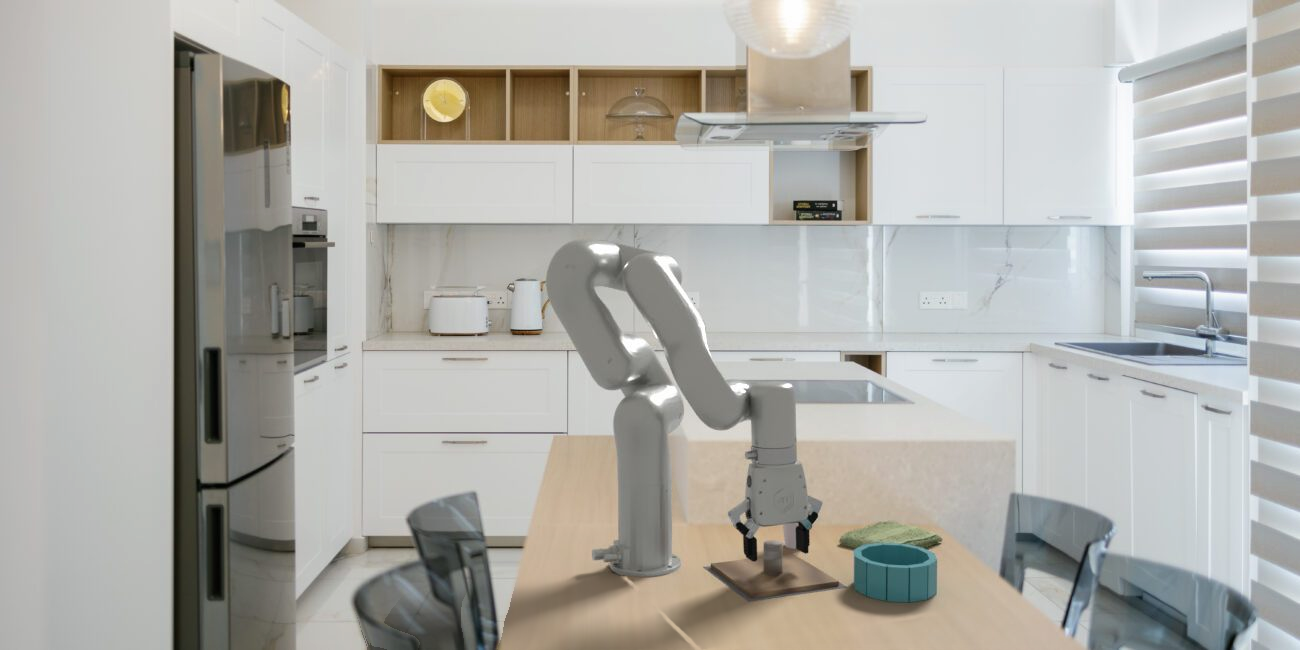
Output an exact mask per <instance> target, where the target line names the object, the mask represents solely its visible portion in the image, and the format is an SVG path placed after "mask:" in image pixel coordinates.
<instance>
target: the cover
mask: <svg viewBox="0 0 1300 650" xmlns="http://www.w3.org/2000/svg"><path fill="white" fill-rule="evenodd" d="M783 547H784V546H783V542H782V541H780V540H773V539H771V540H765V541H763V556H759V557H758V556H757V560H756V561H754V562H753V561H751V560H750V559H748V558H745V559H737V560H729V561H728V560H727V561H721V562H713V563H710V566H711V569H713V570H714V571H715V572H717V573H718V574H719V575H721V576H722V577H723V578H725V579H726V580H727V581H729V582H730V583H731V584H733V585H734V586H735V587H737V588H738V589H739V590H741V591H742V592H743V593H745V594H746V595H747V596H749V597H750V598H751V599H752V598H759V597H766V596H772V595H779V594H786V593H793V592H800V591H807V590H814V589H821V588H828V587H835V586H839V582H840V581H839V580H837V579H836V578H834V577H833V576H831V575H829V574H828V573H826V572H824V571H823V570H821V569H819V568H818V567H816V566H814V565H812V564H811V563H810V562H807V561H806V560H804V559H802V558H801V557H799V556H797V555H795V554H794V553H792V552H791V553H785V554H784V553H783Z"/></svg>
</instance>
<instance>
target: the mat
mask: <svg viewBox="0 0 1300 650" xmlns="http://www.w3.org/2000/svg"><path fill="white" fill-rule="evenodd" d="M703 568H704V570H706V571H708V572H709V573H710V574H711V575H712V576H714V577H716V578H717V579H718V580H719V581H721V582H722V583H723V584H725V585H726V586H727V587H728V588H729V589H731V590H732V591H734V592H735V593H736V594H738V595H739V596H741V598H743V599H744V600H745V601H747V602H749V603H750V602H755V601H763V600H769V599H770V600H772V599H779V598H785V597H791V596H797V595H803V594H812V593H818V592H826V591H831V590H837V589H839V590H840V589H847V588H848V586H846V585H845V584H844V583H842V582H840V581H839V586H835V587H828V588H821V589H814V590H807V591H800V592H793V593H786V594H779V595H772V596H766V597H759V598H752V599H751V598H750V597H749V596H747V595H746V594H745V593H743V592H742V591H741V590H739V589H738V588H737V587H735V586H734V585H733V584H731V583H730V582H729V581H727V580H726V579H725V578H723V577H722V576H721V575H719V574H718V573H717V572H715V571H714V570H713V569H711V565H709V566H703Z"/></svg>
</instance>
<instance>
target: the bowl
mask: <svg viewBox="0 0 1300 650" xmlns="http://www.w3.org/2000/svg"><path fill="white" fill-rule="evenodd" d="M852 576H853V579H852V580H853V588H854V589H853V590H855V591H856V592H858V593H860V594H862V595H863V596H864V597H868V598H872V599H876V600H880V601H883V602H886V601H887V602H896V603H914V602H915V603H916V602H920V601H922V602H923V601H926V600H929V599H931V598H932V597H933V596H935V595H937V593H938V591H937V590H938V557H937V555H936V554H935V553H934V552H933V551H932V550H928V549H926V548H921V547H917V546H912V545H907V544H901V543H874V544H866V545H862V546H860V547H858V548H856V549H854V548H853V575H852Z"/></svg>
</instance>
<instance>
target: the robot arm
mask: <svg viewBox="0 0 1300 650" xmlns="http://www.w3.org/2000/svg"><path fill="white" fill-rule="evenodd" d="M682 281H683V275H682V270H681V267H680V266H679V264H678V262H677V261H676V260H675V259H674V258H673V257H671V256H670V255H668V254H665V253H663V252H656V251H653V250H647V249H643V248H638V247H634V246H630V245H626V244H622V243H619V242H613V241H609V240H601V239H590V238H589V239H587V238H585V239H584V238H583V239H574V240H571V241H569V242H567V243H564V244H563V245H562V246H561V247H559V249H558V250H557V251H556V252H555V253H554V254H553V256H552V258H551V260H550V261H549V264H548V268H547V271H546V279H545V287H546V294H547V298H548V300H549V303H550V305H551V307H552V309H553V312H554V313H555V315H556V316H557V319H558V320H559V321H560V323H561V325H562V327H563V328H564V329H565V332H566V333H567V335H568V337H569V338H570V341H571V343H572V344H573V346H574V348H575V350H576V351H577V353H578V355H579V357H580V358H581V360H582V362H583V364H584V365H585V367H586V369H587V371H588V373H589V374H590V376H591V378H592V379H593V380H594V382H595V383H596V385H598V386H599V387H601V388H602V389H604V390H607V391H619V390H620V391H621V393H622V394H623V396H624V398H622V399H621V400H620V402H619V403H618V404H617V406H616V408H615V411H614V415H613V421H612V424H613V425H612V427H613V435H614V441H615V449H616V463H617V469H616V470H617V506H618V507H617V511H618V512H617V516H618V517H617V521H618V522H617V523H618V527H617V528H618V533H617V534H618V539H617V540H616V539H615V540H613V545H609V546H608V548H603V547H602V548H595V549H594V548H593V549H592V550H591V558H592V560H593V561H601V560H602V561H603V563H609V568H610V569H611V571H612V572H614V573H615V574H618V575H621V576H622V577H623V576H625V577H627V576H630V577H642V578H644V577H646V578H647V577H650V578H651V577H660V576H664V575H668V574H671V573H675V572H676V571H678V570H679V569H681V566H682V560H681V558H680V557H679V556H678V555H676V554H675V553H673V512H672V511H673V504H672V503H673V500H672V499H673V495H672V492H673V491H672V490H673V489H672V488H673V486H672V485H673V484H672V483H673V481H672V457H671V450H670V444H669V434H671V433H672V432H674V431H675V430H676V429H677V428H679V426H680V425H681V423H682V421H683V419H684V416H685V405H684V404H685V403H684V400H683V398H682V396H681V393H682V395H683V396H684V398H685V400H686V401H687V403H688V404H689V406H690V407H691V409H692V410H693V412H694V414H695V415H696V416H697V418H698V419H699V420H700V421H701V422H702V423H703V424H704V425H705V426H707V427H708V428H710V429H711V430H715V431H727V430H730V429H732V428H734V427H736V426H737V425H738V424H740V423H743V422H746V421H750V425H751V426H750V429H751V430H750V432H751V433H750V434H751V446H750V450H749V451H745V452H744V458H745V459H746V460H750V461H751V463H749V465H748V468H747V474H746V480H745V491H744V494H745V495H744V500H743V501H742V502H740V503H739V504H737V505H736V506H735V507H733V508H732V509H730V510H729V511H728V512H727V516H728V519H729V520H730V522H731V523H732V526H733V527H734V528H735V529H736V530H737V531H738V532H739V533H740V534H741V535H742V536H743V537H742V539H743V540H742V541H743V543H742V544H743V545H742V547H743V553H744V556H745V557H746V559H750V560H751V561H753V562H754V561H756V560H757V558H758V539H757V537H755V534H756V533H757V531H758V530H759V528H760V527H761V528H763V527H764V528H765V527H767V528H768V527H775V526H781V525H782V526H783V524H790V523H798V526H796V549H795V550H797V551H799V552H800V553H802V554H805V555H806V554H809V547H810V545H811V543H810V542H811V541H810V538H811V537H810V530H812V528H813V525H814V523H815V522H816V521H817V519H818V517H819V513H820V511H821V508H822V507H823V501H821V500H819V499H817V498H815V497H813V496H811V495H808V487H807V480H806V475H805V472H804V467H803V462H801V461H799V460H798V448H797V412H796V411H797V408H796V404H797V403H796V402H797V401H796V389H795V387H794V386H793V384H792V383H790V382H788V381H787V382H786V381H778V380H776V381H774V380H773V381H769V380H768V381H762V382H761V381H759V382H758V381H748V380H744V379H735V378H734V379H725V377H724V375H723V374H722V372H721V371H720V369H719V368H718V365H716V363H715V361H714V358H713V357H712V354H711V352H710V349H709V346H708V343H707V327H706V324H705V320H704V318H703V317H702V315H701V313H700V312H699V311H698V309H697V308H696V306H695V304H693V302H692V300H691V299H690V297H689V296H688V294H687V293H686V291H685V289H684V287H682V285H681V284H682ZM595 287H605V288H609V289H613V290H618V291H620V292H625V293H627V295H628V296H629V298H630V299H631V301H632V303H633V304H634V305H635V307H636V309H637V310H638V312H639V313H640V314H641V316H642V317H643V319H644V320H645V323H646V324H647V325H648V326H649V328H650V329H651V331H652V333H653V335H654V336H655V338H656V339H657V340H658V342H659V344H660V346H661V348H662V349H663V352H664V355H665V360H666V361H667V364H668V365H669V369H670V371H671V373H672V377H673V378H674V381H675V383H676V384H675V383H674V381H673V379H672V378H671V376H670V374H669V372H668V371H667V369H666V368H665V366H664V365H663V363H662V361H661V359H660V357H659V356H658V354H657V353H656V351H655V349H654V348H653V347H652V345H650V344H649V342H648V341H646V340H645V339H644V338H643V337H641V336H640V335H637V334H634V333H624V332H623V331H622V329H621V328H620V326H619V325H618V323H617V321H616V320H615V319H614V316H613V315H612V313H611V310H609V307H607V305H606V304H605V303H604V302H603V300H602V299H601V298H600V297H599V295H598V294H597V293H596V290H595V289H596V288H595ZM676 385H677V386H678V387H677V386H676ZM680 392H681V393H680ZM808 503H809V504H810V505H811V507H810V511H809V506H808ZM744 513H745V518H746V521H745V522H744V523H743V522H742V520H741V516H742V515H743V514H744Z"/></svg>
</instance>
